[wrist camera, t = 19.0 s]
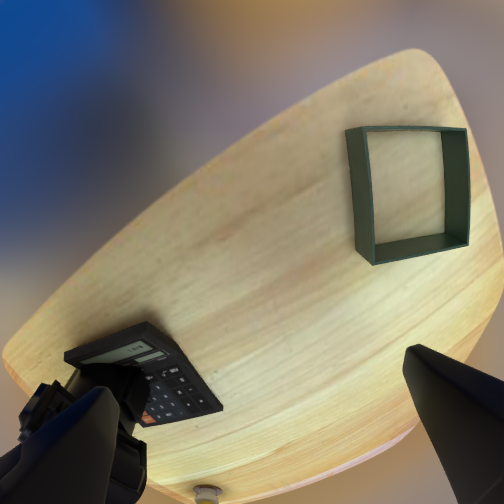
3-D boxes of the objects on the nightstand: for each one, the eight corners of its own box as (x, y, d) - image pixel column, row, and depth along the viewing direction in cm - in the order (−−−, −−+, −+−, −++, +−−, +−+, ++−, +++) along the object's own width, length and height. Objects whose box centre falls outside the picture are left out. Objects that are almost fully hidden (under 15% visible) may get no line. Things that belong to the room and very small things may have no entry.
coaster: (198, 495, 31) (198, 496, 31) (189, 484, 30) (189, 485, 30) (224, 495, 31) (224, 496, 31) (218, 484, 30) (218, 485, 30)
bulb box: (355, 250, 20) (372, 265, 17) (344, 130, 18) (362, 126, 15) (446, 234, 20) (468, 245, 17) (442, 129, 17) (466, 128, 15)
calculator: (145, 421, 26) (138, 442, 23) (75, 338, 22) (60, 357, 20) (223, 404, 25) (222, 427, 22) (154, 305, 22) (143, 326, 19)
